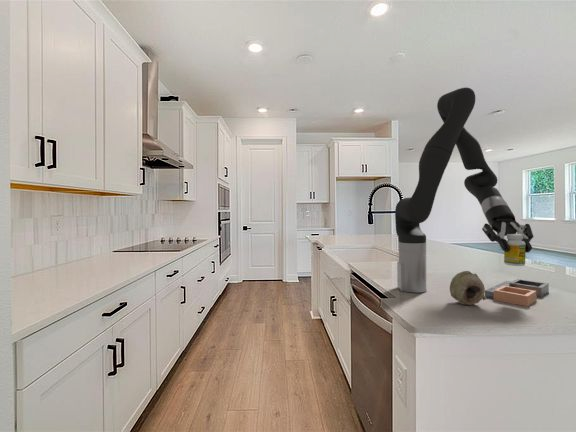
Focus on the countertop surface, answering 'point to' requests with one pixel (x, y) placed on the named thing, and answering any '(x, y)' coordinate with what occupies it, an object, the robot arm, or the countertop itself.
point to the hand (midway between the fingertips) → (518, 250)
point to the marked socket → (515, 295)
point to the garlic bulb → (467, 288)
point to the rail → (523, 284)
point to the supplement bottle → (515, 250)
